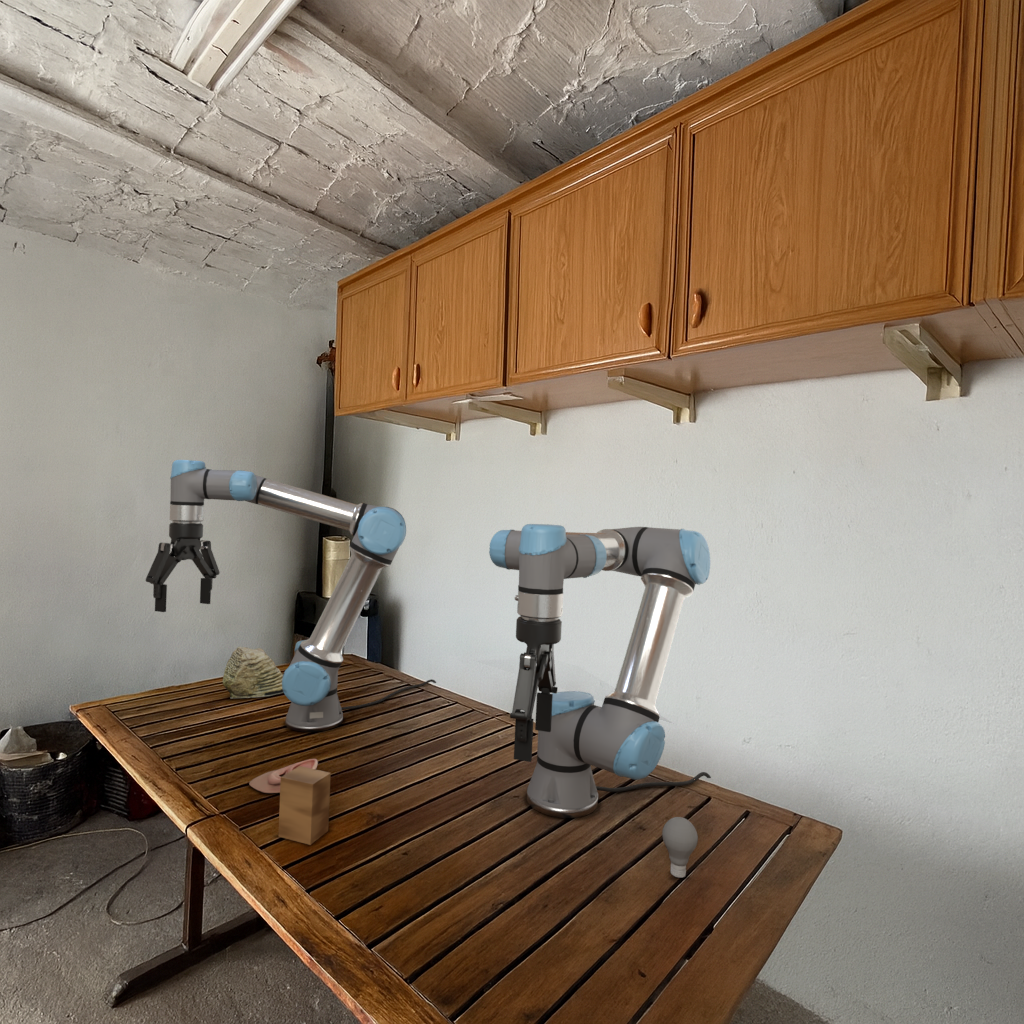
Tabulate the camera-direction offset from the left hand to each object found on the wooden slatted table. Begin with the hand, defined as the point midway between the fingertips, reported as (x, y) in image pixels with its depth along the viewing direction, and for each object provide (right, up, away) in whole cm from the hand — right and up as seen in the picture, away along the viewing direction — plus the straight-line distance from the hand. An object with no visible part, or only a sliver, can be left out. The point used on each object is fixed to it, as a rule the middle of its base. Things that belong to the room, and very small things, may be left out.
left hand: (183, 607), depth 158 cm
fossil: (+1, -33, +40) cm, 52 cm away
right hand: (+85, -15, -52) cm, 101 cm away
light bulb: (+111, -40, -47) cm, 127 cm away
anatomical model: (+32, -36, -18) cm, 51 cm away
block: (+43, -37, -39) cm, 68 cm away
